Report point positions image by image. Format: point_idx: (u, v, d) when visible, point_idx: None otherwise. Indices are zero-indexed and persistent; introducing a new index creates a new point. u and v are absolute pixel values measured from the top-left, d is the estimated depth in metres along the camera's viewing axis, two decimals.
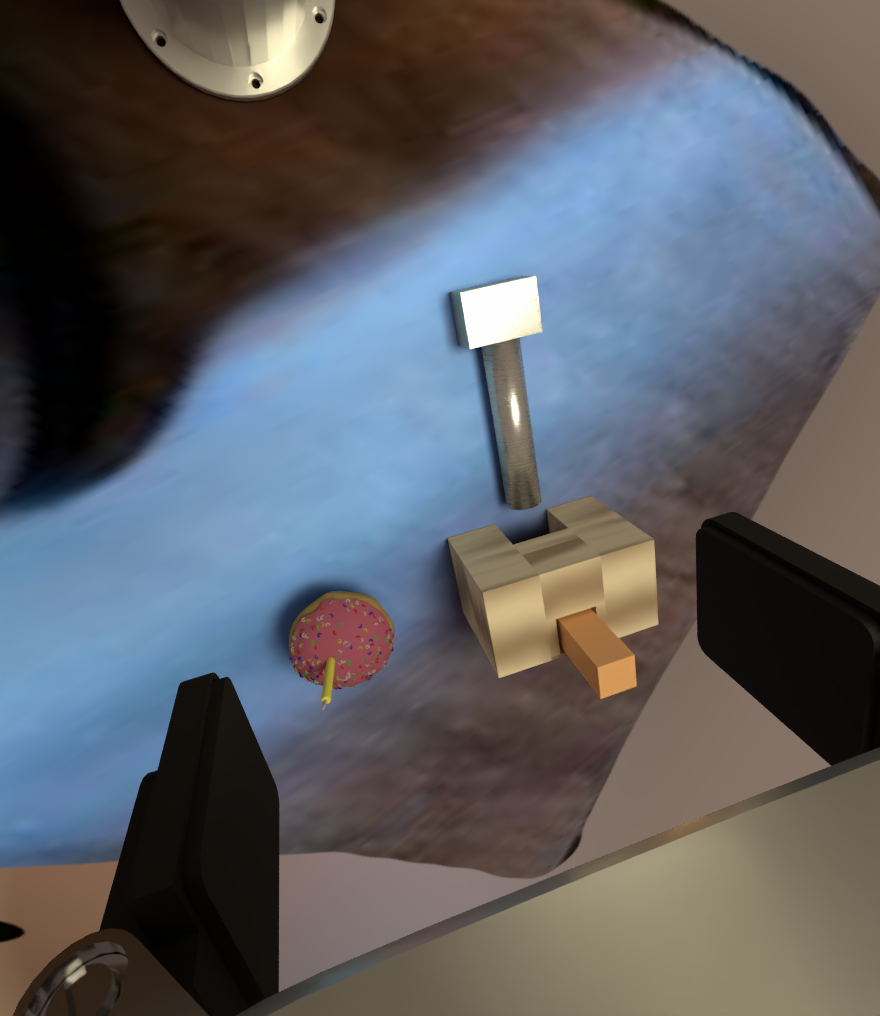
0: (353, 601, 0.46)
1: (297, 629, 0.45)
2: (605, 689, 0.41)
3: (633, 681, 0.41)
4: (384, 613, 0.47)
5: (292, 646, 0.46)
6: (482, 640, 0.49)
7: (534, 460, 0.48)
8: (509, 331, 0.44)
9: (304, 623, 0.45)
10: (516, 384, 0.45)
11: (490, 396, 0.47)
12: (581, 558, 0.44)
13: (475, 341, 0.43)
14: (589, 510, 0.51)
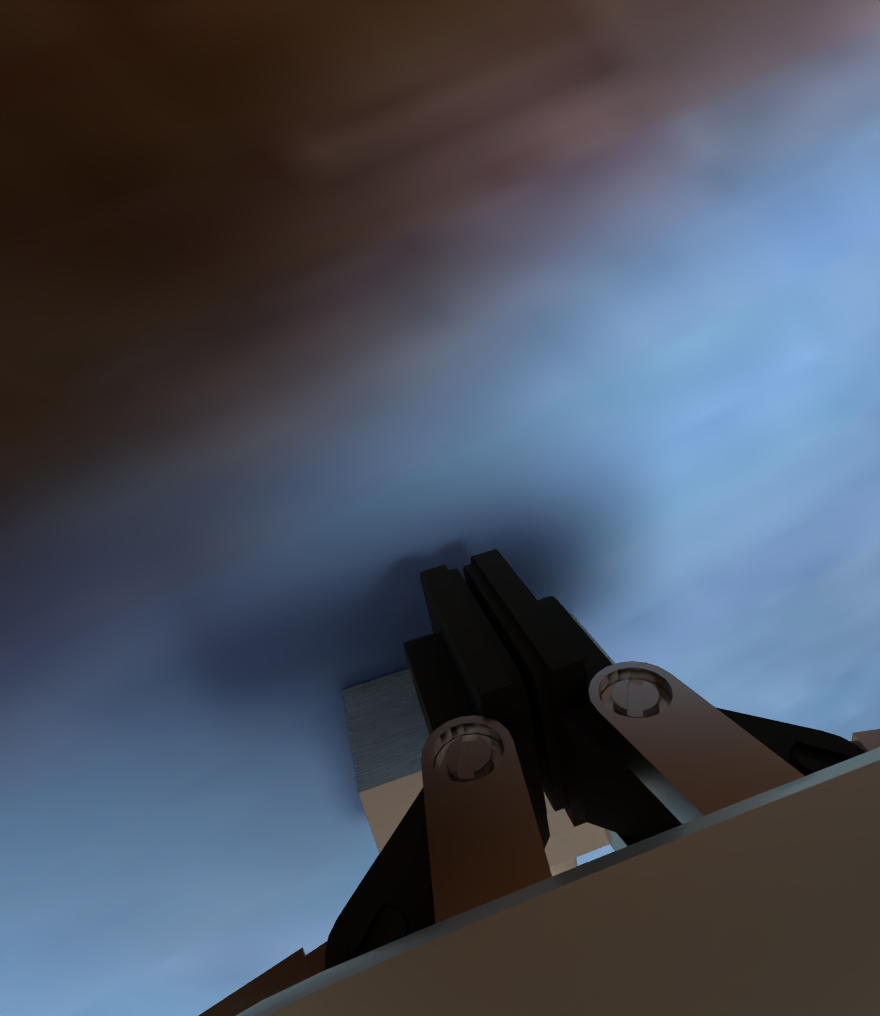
0: None
1: None
2: None
3: None
4: None
5: None
6: None
7: None
8: None
9: None
10: None
11: None
12: None
13: None
14: None
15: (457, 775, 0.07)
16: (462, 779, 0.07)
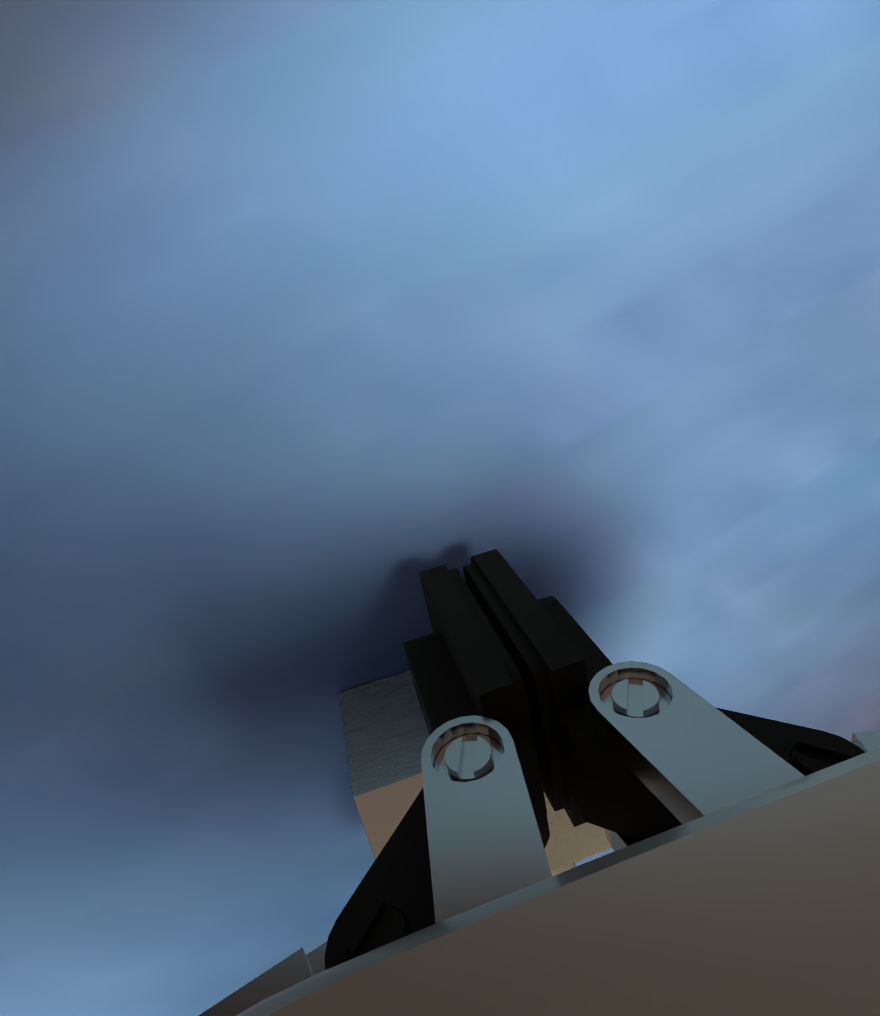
0: None
1: None
2: None
3: None
4: None
5: None
6: None
7: None
8: None
9: None
10: None
11: None
12: None
13: None
14: None
15: (457, 775, 0.07)
16: (462, 779, 0.07)
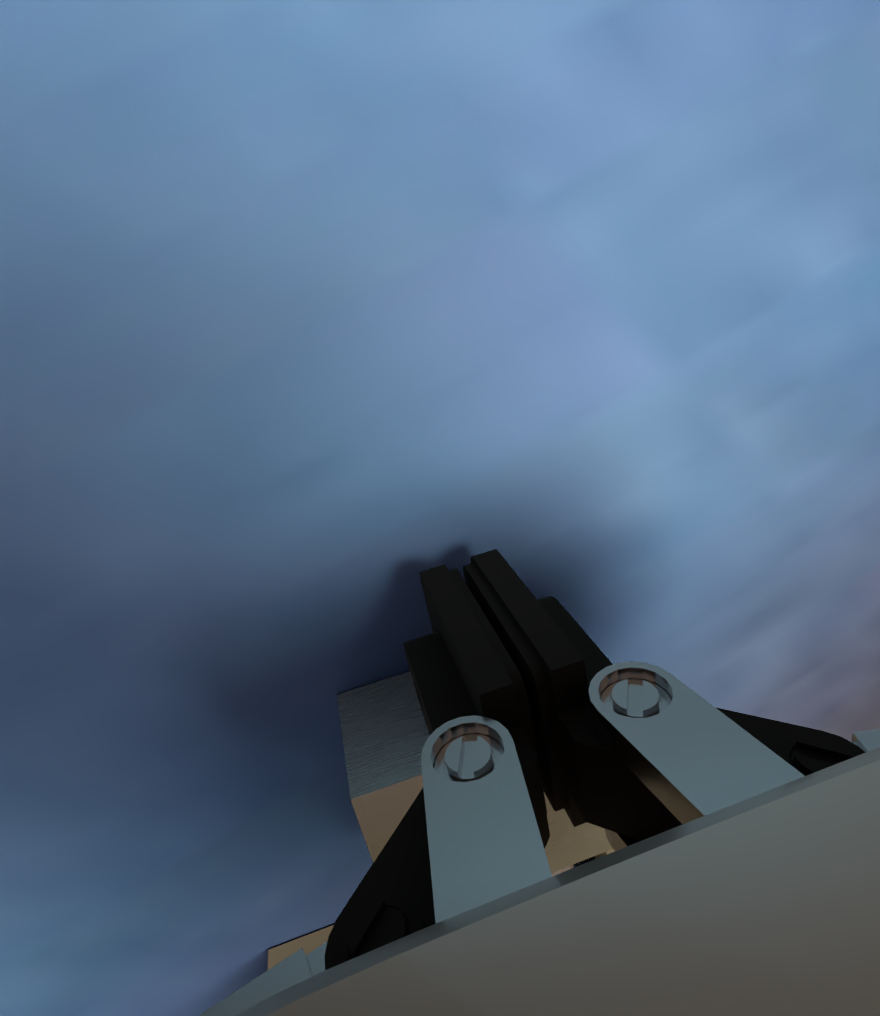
0: None
1: None
2: None
3: None
4: None
5: None
6: None
7: None
8: None
9: None
10: None
11: None
12: None
13: None
14: None
15: (457, 775, 0.07)
16: (462, 779, 0.07)
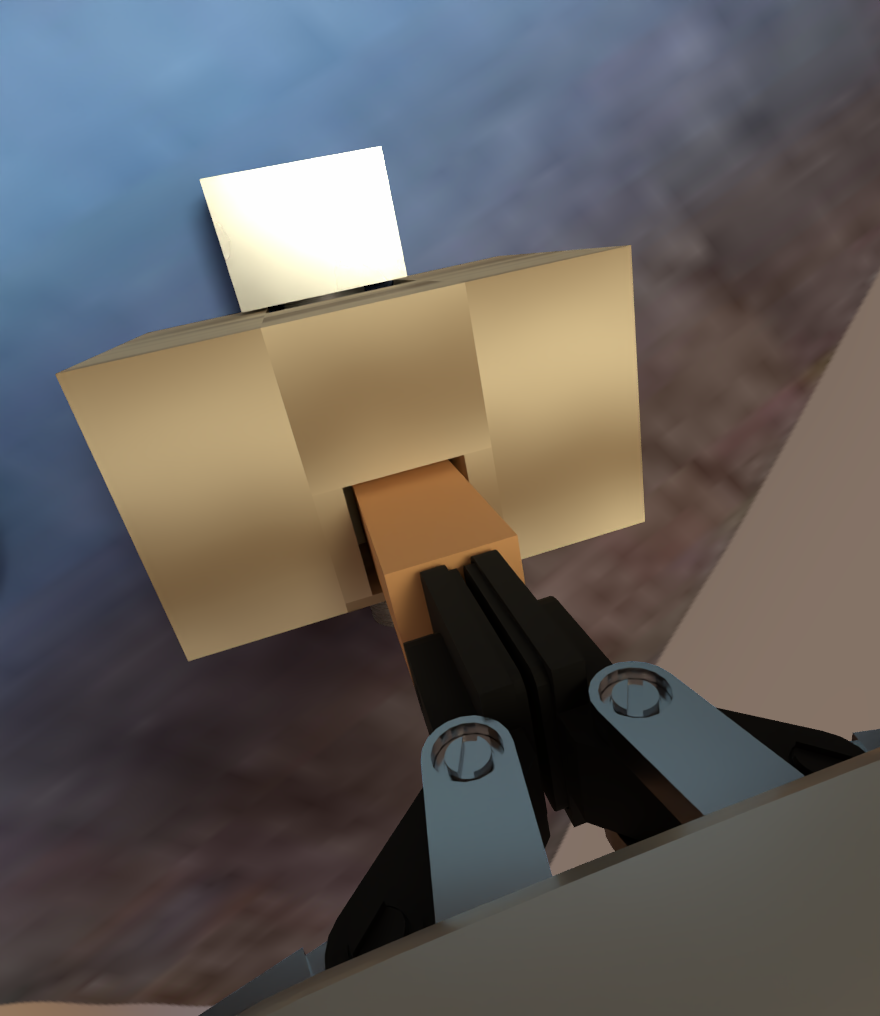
0: None
1: None
2: None
3: None
4: None
5: None
6: None
7: None
8: (330, 273, 0.20)
9: None
10: None
11: None
12: (409, 293, 0.14)
13: (252, 295, 0.20)
14: (482, 262, 0.21)
15: (457, 775, 0.07)
16: (462, 779, 0.07)
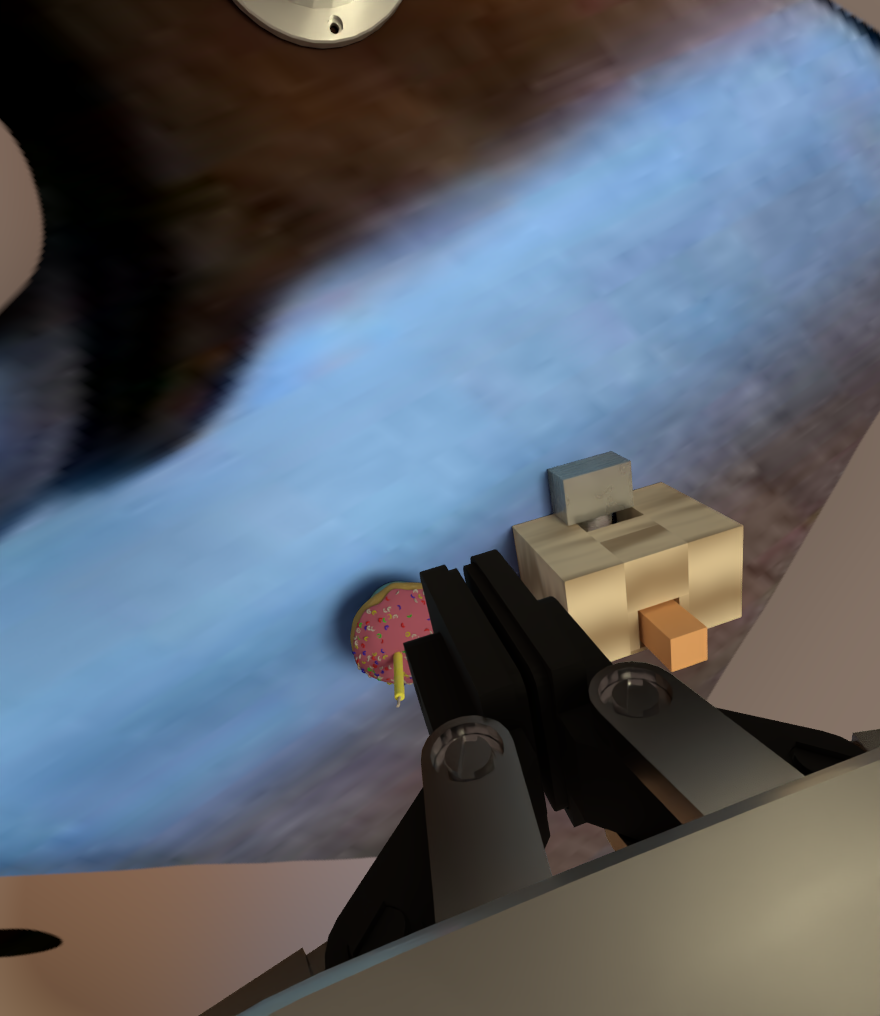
0: (421, 592, 0.43)
1: (362, 621, 0.43)
2: (676, 662, 0.40)
3: (704, 654, 0.41)
4: None
5: (356, 640, 0.43)
6: None
7: None
8: (604, 508, 0.47)
9: (370, 614, 0.42)
10: None
11: None
12: (667, 545, 0.42)
13: (573, 519, 0.47)
14: (662, 496, 0.49)
15: (457, 775, 0.07)
16: (462, 779, 0.07)
